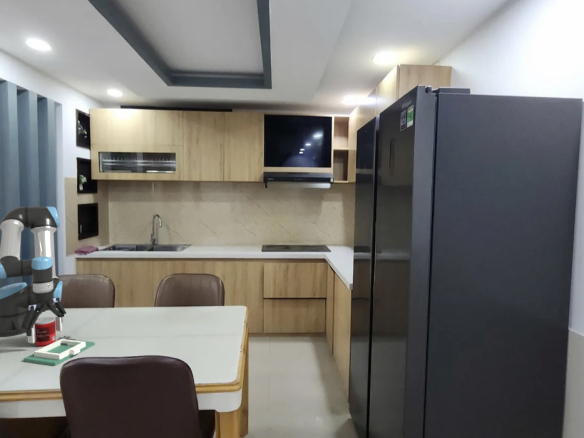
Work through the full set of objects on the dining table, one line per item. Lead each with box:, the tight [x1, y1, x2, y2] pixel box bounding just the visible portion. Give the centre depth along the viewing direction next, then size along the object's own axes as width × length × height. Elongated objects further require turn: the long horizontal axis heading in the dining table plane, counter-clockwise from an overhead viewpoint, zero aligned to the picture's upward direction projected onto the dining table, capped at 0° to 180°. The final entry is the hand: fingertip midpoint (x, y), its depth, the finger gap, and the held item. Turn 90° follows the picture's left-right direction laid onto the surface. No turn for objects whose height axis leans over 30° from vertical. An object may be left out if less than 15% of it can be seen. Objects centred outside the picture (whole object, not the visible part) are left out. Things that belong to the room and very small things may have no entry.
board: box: [23, 337, 96, 367], centre depth 149 cm, size 18×20×3 cm
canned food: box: [34, 316, 57, 348], centre depth 158 cm, size 8×8×11 cm
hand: (45, 336), depth 158 cm, fingers open, 13 cm apart
